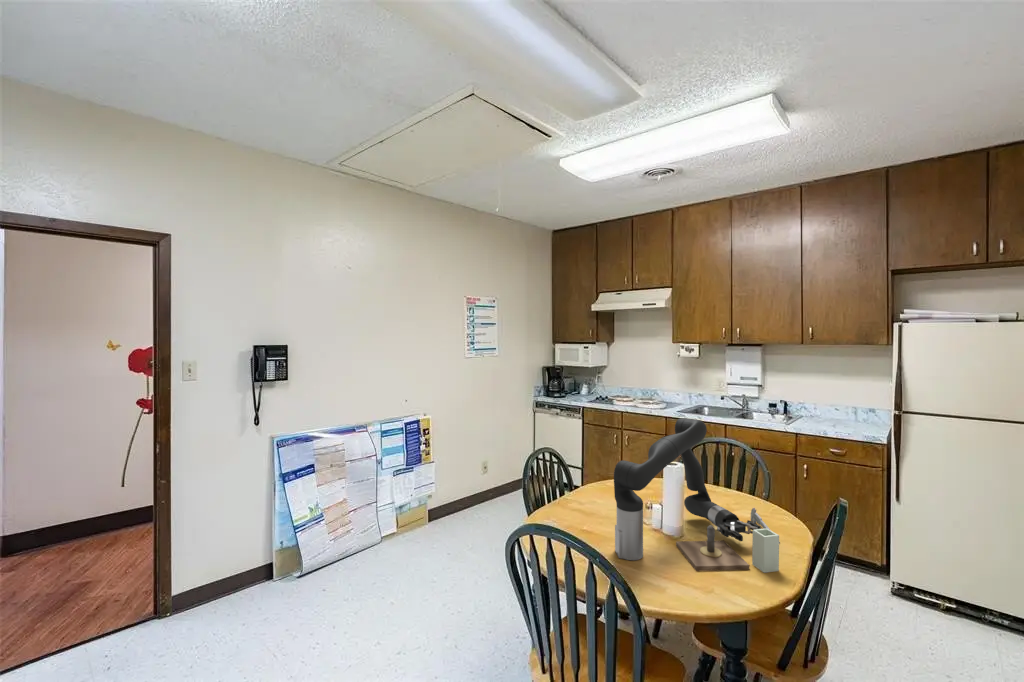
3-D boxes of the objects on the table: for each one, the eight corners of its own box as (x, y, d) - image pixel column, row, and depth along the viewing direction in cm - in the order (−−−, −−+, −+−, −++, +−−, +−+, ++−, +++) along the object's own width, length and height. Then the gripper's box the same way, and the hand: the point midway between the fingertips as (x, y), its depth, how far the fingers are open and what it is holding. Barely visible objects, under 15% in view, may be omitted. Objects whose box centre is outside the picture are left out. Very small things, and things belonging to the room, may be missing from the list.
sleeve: (764, 572, 156) (764, 537, 156) (752, 564, 162) (752, 529, 161) (778, 570, 157) (779, 535, 157) (766, 562, 163) (766, 528, 162)
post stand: (696, 570, 158) (696, 537, 157) (676, 545, 176) (676, 515, 175) (749, 569, 158) (749, 536, 158) (723, 544, 176) (724, 514, 176)
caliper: (750, 521, 197) (750, 506, 197) (753, 521, 197) (753, 506, 197) (777, 544, 177) (777, 527, 176) (780, 544, 176) (780, 527, 176)
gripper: (706, 510, 180) (734, 528, 164) (739, 507, 182) (770, 524, 167) (706, 530, 180) (734, 550, 164) (739, 526, 183) (770, 545, 167)
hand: (752, 537), depth 165 cm, fingers open, 8 cm apart
